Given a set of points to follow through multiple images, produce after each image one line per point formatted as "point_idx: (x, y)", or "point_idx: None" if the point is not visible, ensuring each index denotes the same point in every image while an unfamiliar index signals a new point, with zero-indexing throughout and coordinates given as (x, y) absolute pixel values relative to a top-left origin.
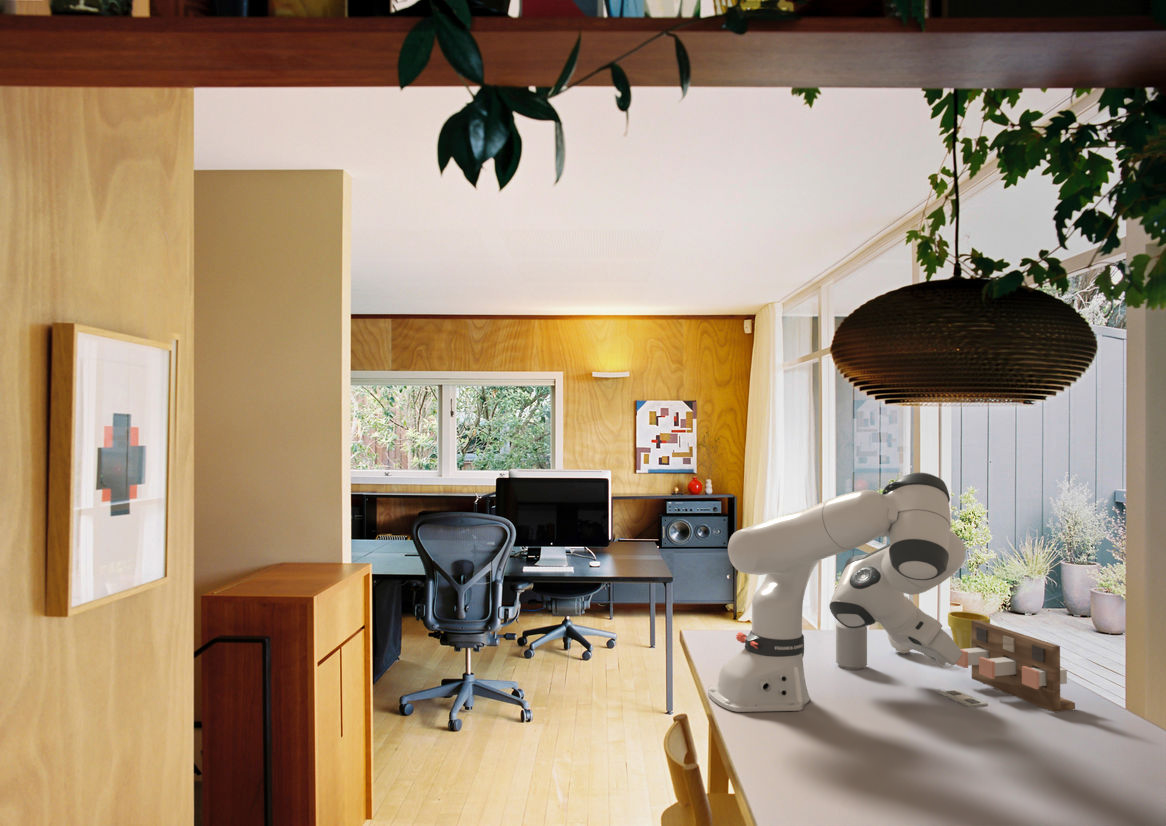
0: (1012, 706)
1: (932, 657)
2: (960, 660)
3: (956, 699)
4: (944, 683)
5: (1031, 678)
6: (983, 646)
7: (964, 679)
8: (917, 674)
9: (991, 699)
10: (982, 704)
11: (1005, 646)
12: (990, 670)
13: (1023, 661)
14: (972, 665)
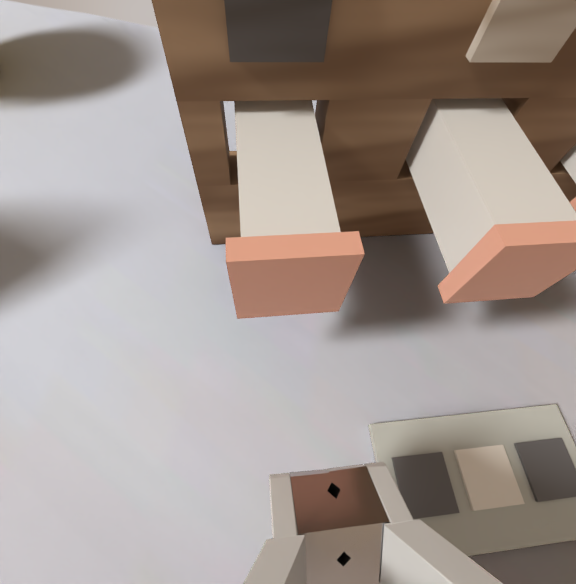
0: (540, 311)
1: (306, 581)
2: (303, 297)
3: (529, 544)
4: (243, 407)
5: None
6: (283, 93)
7: (215, 278)
8: (66, 466)
9: (466, 336)
10: (567, 435)
11: (501, 38)
12: (557, 274)
13: (573, 94)
14: (207, 205)
